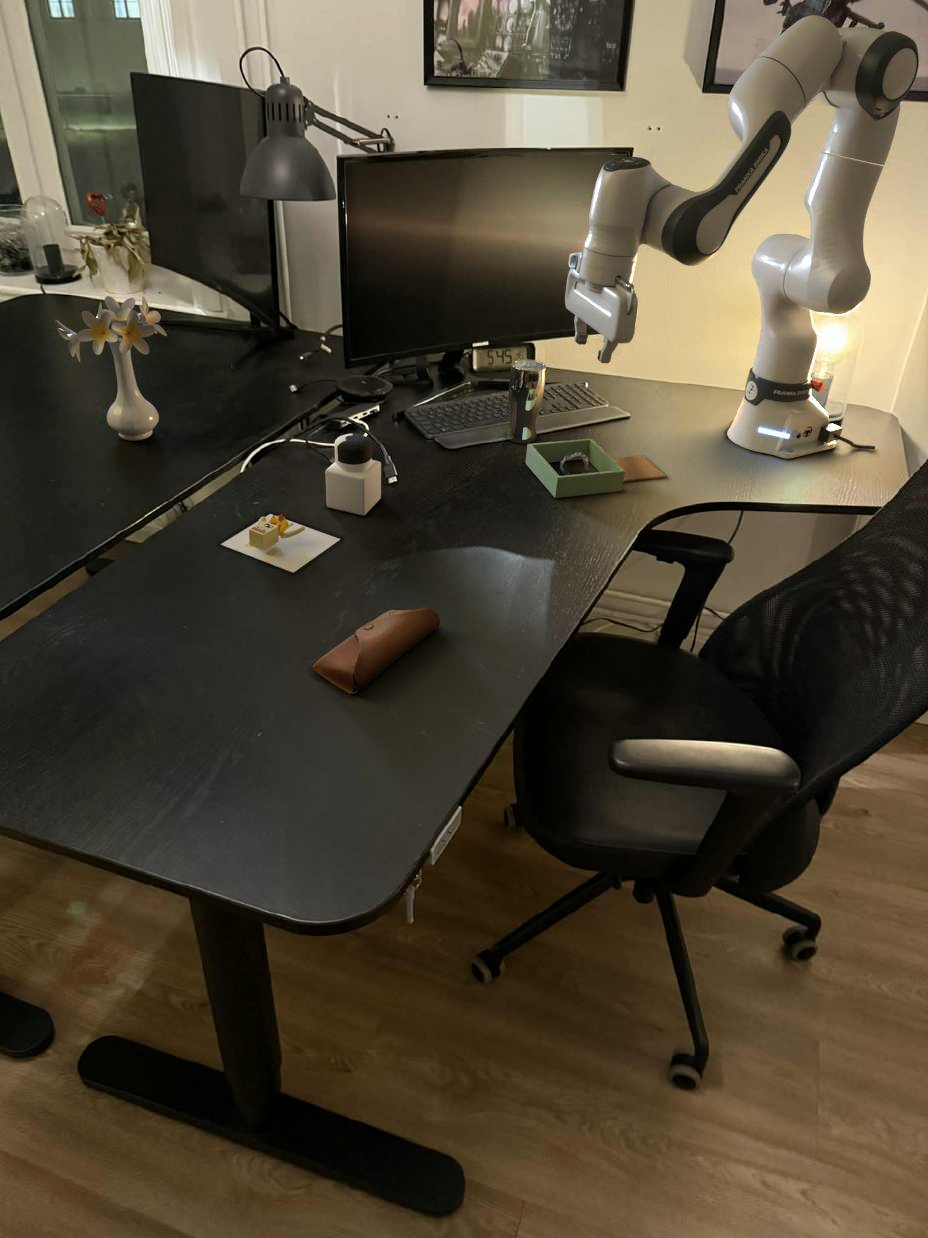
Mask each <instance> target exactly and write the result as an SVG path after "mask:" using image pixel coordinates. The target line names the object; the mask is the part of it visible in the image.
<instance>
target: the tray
mask: <svg viewBox="0 0 928 1238" xmlns="http://www.w3.org/2000/svg"><path fill="white" fill-rule="evenodd" d="M526 444H527V445H526V453H525V465H526V466H527V468H529V469H530V470H531V472H532V474H533V475H535V476H536V478H537V479H538V480H539V481H540V482H541V483H542V485H543V486H544V487H545V488H546V490H548V492H549V493H550V494H551V495H552V496H553V497H554V498H555V499H559V498H569V497H578V496H587V495H597V494H605V493H614V492H622V491H623V487H624V486H623V485H624V482H623V481H624V476H625V470H624V469H623V468H622V467H620V466H619V465H618V464H617V463H616V462H615V461H614V460H613V458H612V457H611V456H610V455H609V454H608V453H607V452H606V451H605V450H604V449H603V448H602V447H601V446H600V445H599V444H598V443H597V442H596V441H595V440H594V439H593V438H582V439H580V438H579V439H571V440H559V441H548V442H536V443H535V442H534V443H526ZM577 452H578V453H579V452H580V453H581V452H583V453H584V454H585V455H586V456H587V458H588V461H589V464H591V465H592V466H593V467H594V468H595V469H596V470H597V471H595V472H588V473H585V472H584V473H585V474H575V475H560V474H558V473H557V471H556V470H555V469H554V468H553V466H551V465H550V464H551V463H558V462H560V463H561V461H562V460H563V459H564V457H566V456H571V455H573V454H574V453H577ZM579 460H580V461H582V460H581V458H580V456H579V457H574V458H572V459H571V460H570V461H579ZM570 461H569V462H570Z"/></svg>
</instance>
